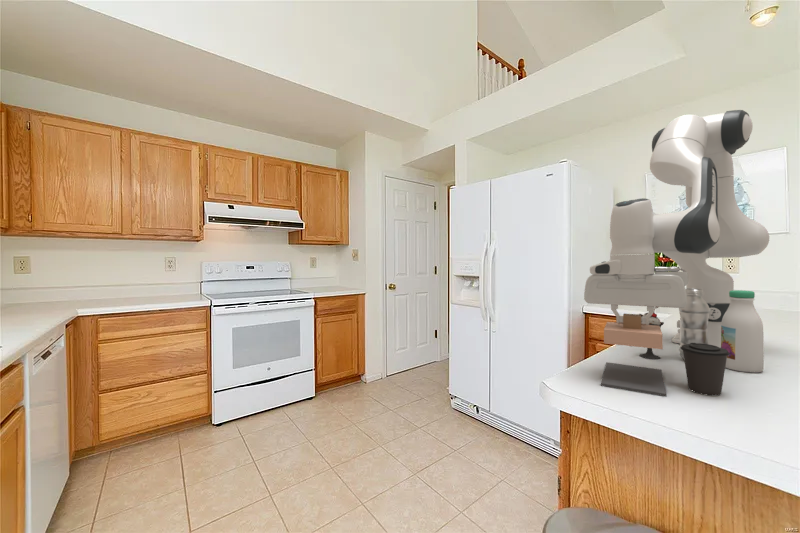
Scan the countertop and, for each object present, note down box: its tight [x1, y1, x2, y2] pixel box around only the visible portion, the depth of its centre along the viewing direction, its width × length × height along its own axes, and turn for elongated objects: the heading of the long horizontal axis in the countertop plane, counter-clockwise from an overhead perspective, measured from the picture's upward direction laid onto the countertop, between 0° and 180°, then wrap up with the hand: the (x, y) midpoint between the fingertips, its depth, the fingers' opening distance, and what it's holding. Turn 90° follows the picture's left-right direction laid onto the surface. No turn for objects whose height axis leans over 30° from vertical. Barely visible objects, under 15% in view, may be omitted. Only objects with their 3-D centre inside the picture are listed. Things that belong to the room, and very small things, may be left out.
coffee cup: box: [679, 343, 730, 396], centre depth 74 cm, size 8×8×10 cm
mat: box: [600, 362, 667, 397], centre depth 83 cm, size 18×12×1 cm, turn 145°
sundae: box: [638, 307, 665, 360], centre depth 99 cm, size 7×7×15 cm
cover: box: [603, 313, 664, 350], centre depth 82 cm, size 11×11×6 cm
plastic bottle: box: [678, 288, 710, 360], centre depth 94 cm, size 6×7×20 cm
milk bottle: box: [721, 289, 765, 374], centre depth 87 cm, size 8×8×20 cm
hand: (632, 324), depth 82 cm, fingers closed on cover, 3 cm apart
